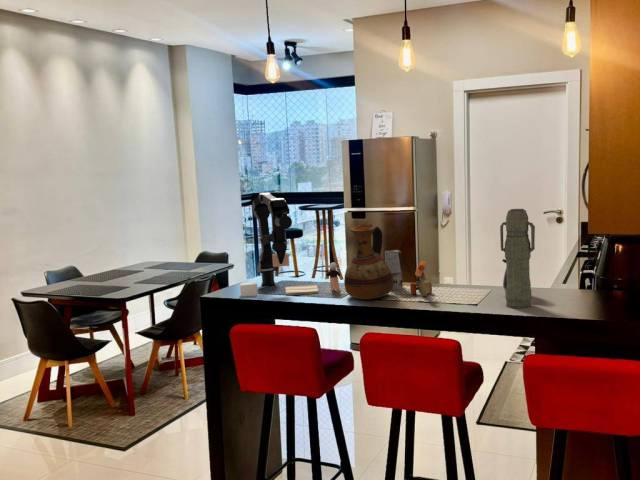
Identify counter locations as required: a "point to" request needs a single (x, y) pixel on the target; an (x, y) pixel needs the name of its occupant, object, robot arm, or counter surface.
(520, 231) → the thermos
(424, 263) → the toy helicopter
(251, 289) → the offwhite brick
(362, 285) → the ceramic pitcher
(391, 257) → the coffee box
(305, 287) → the oak board
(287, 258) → the terracotta brick
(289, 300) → the counter surface
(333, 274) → the grandmother figurine
